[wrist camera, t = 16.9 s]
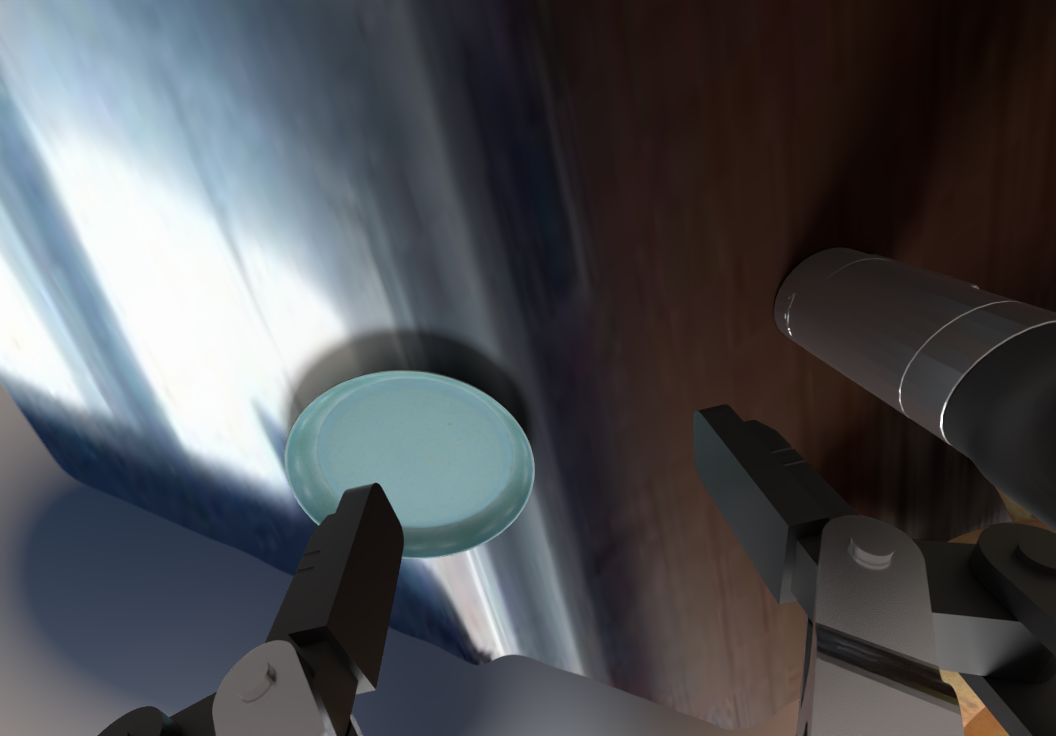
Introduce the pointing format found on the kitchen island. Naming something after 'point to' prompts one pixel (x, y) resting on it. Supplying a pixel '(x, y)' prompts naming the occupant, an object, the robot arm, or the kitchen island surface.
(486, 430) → the saucer
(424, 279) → the kitchen island surface
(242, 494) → the kitchen island surface
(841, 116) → the kitchen island surface
